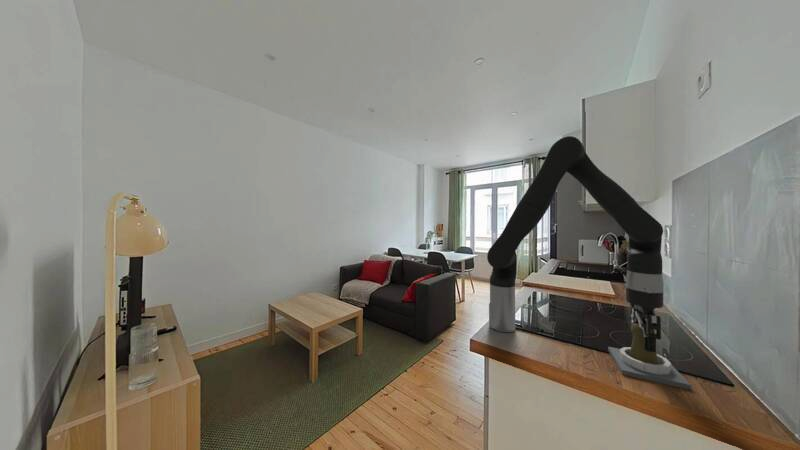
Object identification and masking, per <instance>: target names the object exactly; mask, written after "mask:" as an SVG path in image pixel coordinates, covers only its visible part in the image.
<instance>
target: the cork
mask: <svg viewBox="0 0 800 450" xmlns="http://www.w3.org/2000/svg"><path fill="white" fill-rule="evenodd" d="M630 330H631V333H632V340H631V341H632V342H631V346H630V347H631V351H630V357H632V358H634V359H636V360H639V361H642V362H644V363H649V364H654V365H658V359H657V354H658V353H657V351H656V352H649V351H646V350H645V349H644V335H643V330H642V329H641V328H640V327H639V323H634V324H631V326H630ZM650 333H652V334H653V332H652V330H650ZM633 334H634V335H633Z"/></svg>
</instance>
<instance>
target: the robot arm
mask: <svg viewBox="0 0 800 450" xmlns="http://www.w3.org/2000/svg"><path fill="white" fill-rule="evenodd" d="M566 173H568V174H569V175H571V176H572V177H573V178H574V179H576V180H577V182H579V183H580V184H581V185H582V187H583V188H584V189H585V190H586V192H588V194H589V195H590V196H591V197H592V199H594V201H595V202H596V203H597V204H598V205H599V206H600V207H601V208H602V209H603V210H604V211H605V212H606V213H607V214H608V215H609V216H610V217H611V218H613V219H614V220H615V222H616V223H617V225H619V227H620V228H621V229H622V231H624V233H625V234H626V235H627V236H628V255H627V263H626V265H627V267H626V269H627V271H626V276H625V301H626V303H629V320H630V322H631V325H633V324H634V323H639V327H640V328H641V329H642V330H643V335H644V349H645V350H646V351H649V352H656V353H657V340H662V327H661V321H662V319H661V316H658V315H657V313H655V309H661V308H663V307H664V292H665V291H664V286H665V285H664V278H663V257H662V252H661V251H662V238H663V234H664V227H663V225H662V224H661V223H660V222H659V221H658V220H657V219H656V218H655V217H653V216H652V215H651V214H650V213H649V212H648V211H646V210H645V208H642V206H640V205H639V203H638V202H637V201H636V200H635V199H634V198H633V197H632V196H631V195H630V194H629V193H628V192H627V191H626V190H625V189H624V188H623V187H622V186H621V185H620V184H618V183H617V182H616V181H615V180H613V179H612V178H611V177H610V176H607V174H605V173H604V172H603V171H602V170H600V168H598V166H596V164H594V162H593V161H592V160H591V158H590V156H588V154H587V152H586V149H585V147H584V145H583V143H582V142H581V140H580V139H579V138H577V137H575V136H572V135H571V136H564V137H560V138H559V139H557V140H556V141H555V142H554V143H553V144H552V145H551V147H550V148H549V151H548V153H547V154H546V157H545V159H544V161H543V163H542V165H541V167H540V169H539V171H538V172H537V174H536V176H535V178H534V179H533V180H532V182H531V184H529V187H528V188H527V189H526V191H525V192H524V195H523V196H522V198H521V199H520V201H519V202H518V204H517V205H516V207H515V209H514V211H513V213H512V214H511V216H510V218H509V220H508V221H507V223H506V225H505V227H504V229H503V231H502V232H501V234H500V235H499V237H498V238H497V239H496V240H495V241H494V243H493V244H492V245H491V246H490V248H489V250H488V252H487V258H486V259H487V262H488V264H489V266H491V267H492V269H491V270H492V271H491V275H490V276H489V303H488V327H489V329H492V330H494V331H497V332H500V333H513V332H515V331H516V280H517V271H518V270H517V269H518V268H517V266H518V265H517V263H518V262H517V261H518V259H517V258H518V257H517V249H518V247H519V246H520V245H521V243H522V242H523V240H525V238H526V237H527V236H528V235H529V234H530V233H531V231H532V230H534V228H536V227H537V225H538V224H539V223H540V221H541V220H542V218H543V217H544V216H545V214H546V213H547V211H548V209H549V208H550V206H551V204H552V202H553V199H554V196H555V193H556V191H557V188H558V186H559V184H560V182H561V180H562V179H563V177H564V176H565V174H566ZM650 330H652V332H653V334H652V333H650ZM633 335H634V334H633V333H632V336H633Z"/></svg>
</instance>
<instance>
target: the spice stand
mask: <svg viewBox="0 0 800 450" xmlns="http://www.w3.org/2000/svg"><path fill="white" fill-rule="evenodd" d="M607 351H608V353H609V354H610V356H611V359H612V360H613V361H614V363H615V364H616V366H617V369H618V370H619V372H620V375H624V376H628V377H633V378H637V379H641V380H646V381H650V382H654V383H659V384H664V385H668V386H672V387H677V388H681V389H685V390H689V391H692V384H691V383H690V382H689V381H688V380H686V378H685V377H684V376H683V374H682V373H680V371H678V369H676V368H675V366H673V364H672V362H671V361H669V359H667V358H666V357H665V356H663V355H660V354H659V353H656V354H657V359H658V365H654V364H649V363H644V362H642V361H639V360H636V359H634V358H632V357H630V351H631V346H630V347H629V346H628V347H625V346H624V347H622V348H617V347H612V346H607Z"/></svg>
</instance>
